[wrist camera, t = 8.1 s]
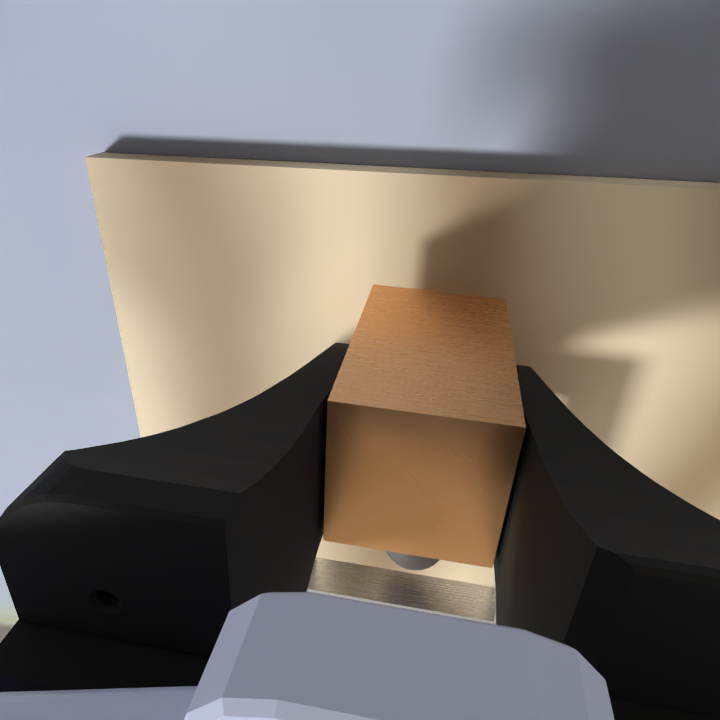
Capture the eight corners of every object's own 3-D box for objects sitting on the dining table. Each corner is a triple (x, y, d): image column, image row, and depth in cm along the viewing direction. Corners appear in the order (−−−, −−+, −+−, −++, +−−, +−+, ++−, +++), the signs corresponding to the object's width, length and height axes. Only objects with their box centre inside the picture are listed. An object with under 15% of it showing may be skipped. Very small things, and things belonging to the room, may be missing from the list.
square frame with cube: (288, 274, 13) (203, 383, 9) (597, 309, 13) (666, 446, 8) (291, 570, 18) (236, 733, 14) (513, 609, 17) (530, 794, 13)
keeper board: (174, 541, 22) (120, 632, 18) (102, 152, 15) (-5, 180, 12) (679, 614, 19) (725, 734, 16) (861, 189, 13) (1008, 240, 9)
